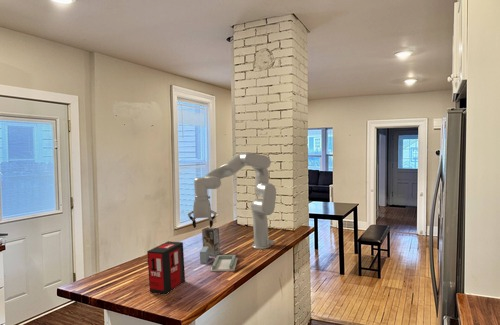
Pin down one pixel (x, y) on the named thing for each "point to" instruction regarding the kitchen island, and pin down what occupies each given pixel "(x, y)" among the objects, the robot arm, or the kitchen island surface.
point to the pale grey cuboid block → (204, 255)
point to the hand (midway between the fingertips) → (202, 227)
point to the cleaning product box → (166, 267)
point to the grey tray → (224, 263)
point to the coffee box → (211, 240)
